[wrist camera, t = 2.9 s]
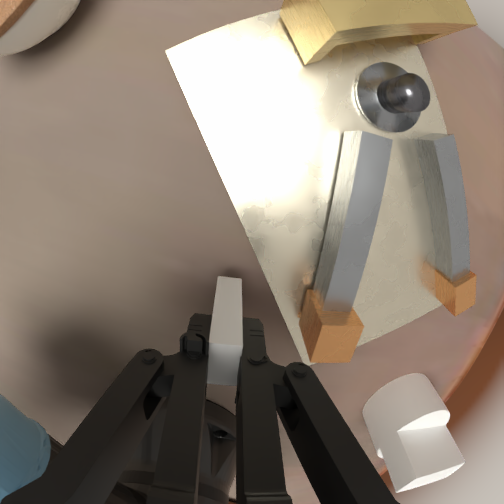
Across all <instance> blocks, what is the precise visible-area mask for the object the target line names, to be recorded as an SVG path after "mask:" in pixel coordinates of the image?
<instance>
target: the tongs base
mask: <svg viewBox="0 0 504 504" xmlns="http://www.w3.org/2000/svg"><path fill="white" fill-rule="evenodd" d="M279 13H280V10H277V11H273V12H269V13H265V14H261V15H258V16H254V17H251V18H248V19H244V20H241V21H238V22H235V23H232V24H229V25H226V26H223V27H220V28H218V29H215V30H212V31H210V32H207V33H205V34H202V35H200V36H197V37H195V38H192V39H190V40H188V41H185V42H183V43H181V44H179V45H177V46H174V47H172V48H170V49H168V50H166V51H165V52H166V54H167V56H168V59H169V61H170V63H171V65H172V67H173V70H174V72H175V74H176V76H177V79H178V81H179V83H180V85H181V88H182V90H183V92H184V94H185V97H186V99H187V101H188V103H189V106H190V108H191V110H192V112H193V115H194V117H195V119H196V121H197V124H198V126H199V128H200V130H201V133H202V135H203V137H204V139H205V142H206V144H207V146H208V148H209V151H210V153H211V155H212V157H213V160H214V162H215V164H216V166H217V169H218V171H219V173H220V175H221V178H222V180H223V182H224V184H225V187H226V189H227V191H228V193H229V196H230V198H231V200H232V202H233V205H234V207H235V209H236V211H237V214H238V216H239V218H240V220H241V223H242V225H243V227H244V229H245V232H246V234H247V236H248V239H249V241H250V243H251V245H252V248H253V250H254V252H255V254H256V257H257V259H258V261H259V263H260V266H261V268H262V270H263V272H264V275H265V277H266V279H267V282H268V284H269V286H270V288H271V291H272V293H273V295H274V297H275V300H276V302H277V304H278V307H279V309H280V311H281V313H282V316H283V318H284V320H285V322H286V325H287V327H288V329H289V332H290V334H291V336H292V338H293V341H294V343H295V345H296V347H297V350H298V352H299V354H300V357H301V359H302V361H303V363H304V364H306V365H308V366H310V365H312V364H315V363H310V360H309V357H308V354H307V350H306V347H305V344H304V340H303V337H302V334H301V330H300V327H299V324H298V323H299V320H300V316H301V312H302V308H303V304H304V300H305V296H306V292H307V289H313V286H314V282H315V278H316V274H317V269H318V265H319V261H320V257H321V252H322V248H323V243H324V239H325V234H326V230H327V225H328V220H329V215H330V210H331V205H332V200H333V195H334V190H335V185H336V179H337V174H338V168H339V162H340V156H341V150H342V144H343V137H344V131H365V132H369V133H372V134H376V135H379V136H382V137H386V138H389V139H392V140H393V142H392V148H391V154H390V160H389V166H388V171H387V177H386V182H385V187H384V192H383V196H382V201H381V206H380V210H379V214H378V219H377V223H376V227H375V231H374V235H373V239H372V243H371V246H370V250H369V254H368V257H367V261H366V264H365V268H364V271H363V275H362V278H361V281H360V285H359V288H358V291H357V294H356V297H355V300H354V303H353V306H352V307H353V309H354V310H355V312H356V313H357V315H358V317H359V318H360V320H361V322H362V323H363V325H364V329H363V331H362V334H361V336H360V339H359V341H358V344H357V346H356V347H358V346H360V345H362V344H365V343H367V342H369V341H371V340H374V339H376V338H378V337H380V336H382V335H384V334H386V333H389V332H391V331H393V330H395V329H397V328H399V327H401V326H403V325H405V324H407V323H409V322H411V321H413V320H415V319H417V318H419V317H421V316H422V315H424V314H426V313H428V312H430V311H432V310H433V309H435V308H437V307H439V306H441V305H442V304H443V305H444V306H445V307H446V308H447V309H448V310H449V311H450V312H451V313H452V314H453V315H454V316H457V315H459V314H460V313H462V312H463V311H465V310H467V309H468V308H470V307H471V306H473V305H474V304H475V295H476V275H475V274H474V273H473V272H471V271H470V253H469V231H468V218H467V208H466V199H465V192H464V185H463V178H462V172H461V166H460V161H459V156H458V151H457V147H456V142H455V138H454V134H447V130H446V126H445V123H444V119H443V115H442V112H441V109H440V105H439V102H438V99H437V96H436V93H435V90H434V87H433V84H432V81H431V79H430V76H429V73H428V71H427V68H426V66H425V63H424V61H423V58H422V56H421V53H420V51H419V49H418V46H417V44H415V43H414V41H413V39H412V37H411V35H404V36H394V37H385V38H377V39H370V40H364V41H358V42H352V43H346V44H341V45H336V46H335V47H334V48H333V49H332V50H331V51H330V52H328V53H327V54H326V55H325V56H324V57H323V58H322V59H321V60H320V61H317V62H313V63H309V64H306V65H305V64H304V62H303V60H302V58H301V56H300V53H299V51H298V49H297V47H296V45H295V43H294V41H293V39H292V37H291V35H290V33H289V31H288V30H287V28H286V26H285V24H284V22H283V20H282V18H281V17H280V15H279Z"/></svg>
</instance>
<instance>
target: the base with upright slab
mask: <svg viewBox="0 0 504 504" xmlns="http://www.w3.org/2000/svg"><path fill="white" fill-rule="evenodd" d="M362 412H363V418H364V420H365V423H366V425H367V428H368V431H369V433H370V436H371V439H372V441H373V444H374V447H375V449H376V452H377V455H378V456H379V457H380V458H384V461H385V463H386V466H387V469H388V472H389V474H390V477H391V480H392V483H393V485H394V488H395V491H396V493H397V492H401V491H405V490H408V489H412V488H416V487H419V486H422V485H425V484H428V483H431V482H434V481H437V480H440V479H443V478H445V477H448V476H449V475H450V474H452V473H453V472H455V471H456V470H457V469H458V468H460V467H461V466H462V465H463V464H464V463H465V460H464V458H463V456H462V454H461V453H460V451H459V449H458V447H457V445H456V443H455V442H454V439H453V438H452V436H451V434H450V432H449V430H448V429H447V427H446V424H447V422H448V420H449V418H450V413H449V411H448V410H447V408H446V406H445V404H444V403H443V401H442V400H441V398H440V396H439V395H438V393H437V392H436V390H435V388H434V387H433V385H432V384H431V382H430V381H429V379H428V378H427V377H426V376H425V375H424V374H420V373H413V374H408V375H404V376H401V377H399V378H397V379H395V380H393V381H391V382H389V383H388V384H386V385H384V386H383V387H382V388H380V389H379V390H378V391H376V392H375V393H374V394H373V395H372V396H371V397H370V398H369V399H368V401H367V402H366V404H365V405H364V408H363V411H362Z"/></svg>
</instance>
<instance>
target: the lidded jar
mask: <svg viewBox="0 0 504 504" xmlns="http://www.w3.org/2000/svg"><path fill="white" fill-rule="evenodd" d="M80 1H81V0H0V56H6V55H11V54H15V53H19V52H22V51H24V50H27V49H29V48H31V47H33V46H34V45H36V44H38V43H40V42H41V41H43V40H44V39H46V38H47V37H48V36H50V35H52V34H53V33H55V32H56V31H57V30H59V29H60V28H61V27H62V26H63V25H64V24H65V23H66V22H67V21H68V20H69V19H70V17H71V16H72V15H73V13H74V12H75V10H76V9H77V7H78V5H79V3H80Z"/></svg>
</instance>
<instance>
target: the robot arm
mask: <svg viewBox="0 0 504 504" xmlns="http://www.w3.org/2000/svg"><path fill="white" fill-rule="evenodd" d="M207 383H208V384H218V385H229V386H237V391H236V397H235V403H236V417H235V416H234V415H232V414H231V413H230V412H228V411H227V410H225V409H224V408H222V407H220V406H218V405H216V404H214V403H211V402H209V401H206V388H207ZM276 410H277V412H276ZM277 413H278V415H279V417H280V419H281V421H282V424H283V426H284V428H285V430H286V432H287V435H288V437H289V439H290V441H291V443H292V445H293V448H294V450H295V452H296V454H297V456H298V458H299V460H300V462H301V464H302V467H303V469H304V471H305V473H306V475H307V477H308V479H309V481H310V483H311V485H312V487H313V489H314V491H315V493H316V495H317V497H318V499H319V501H320V503H321V504H400V503H398V502H397V501H396V500H395V499H394V497H393V495H392V494H391V493H390V491H389V489H388V488H387V486H386V485H385V483H384V482H383V480H382V479H381V477H380V475H379V474H378V472H377V471H376V469H375V468H374V466H373V464H372V463H371V461H370V460H369V458H368V457H367V455H366V454H365V452H364V450H363V449H362V447H361V446H360V444H359V443H358V441H357V439H356V438H355V436H354V435H353V433H352V432H351V430H350V428H349V427H348V425H347V424H346V422H345V421H344V419H343V417H342V416H341V414H340V413H339V411H338V410H337V408H336V406H335V405H334V403H333V402H332V400H331V398H330V397H329V395H328V394H327V392H326V390H325V389H324V387H323V386H322V384H321V383H320V381H319V379H318V378H317V376H316V375H315V373H314V371H313V370H312V369H311V368H310V366H308V365H306V364H304V363H301V362H293V363H290V364H289V365H288V366H287V367H284V366H280V365H277V364H275V363H273V362H272V361H270V359H269V357H268V356H267V354H266V347H265V338H264V330H263V324H262V323H261V322H260V320H259V319H252V318H242V279H241V278H231V277H222V276H218V280H217V287H216V294H215V301H214V308H213V315H206V314H198V313H195V314H194V315H193V316H192V317H191V318H190V321H189V325H188V330H187V333H184V334H183V335H182V336H181V337H180V352H178V353H177V354H174V355H169V356H163V355H162V354H161V353H160V352H159V351H157V350H154V349H144V350H141V351H139V352H138V353H137V354H136V355H135V356H134V357H133V359H132V360H131V361H130V362H129V364H128V365H127V366H126V367H125V369H124V370H123V371H122V372H121V374H120V375H119V376H118V377H117V378H116V380H115V381H114V382H113V383H112V385H111V386H110V387H109V388H108V390H107V391H106V392H105V394H104V395H103V396H102V397H101V399H100V400H99V401H98V402H97V404H96V405H95V406H94V407H93V409H92V410H91V411H90V413H89V414H88V415H87V416H86V418H85V419H84V420H83V422H82V423H81V424H80V425H79V427H78V428H77V429H76V431H75V432H74V433H73V434H72V436H71V437H70V438H69V440H68V441H67V442H66V444H65V445H64V446H63V445H61V444H60V443H59V442H57V441H56V440H55V439H54V438H52V437H51V436H50V435H49V434H47V433H46V431H45V429H44V428H43V427H42V426H41V425H40V424H39V423H37V422H36V421H34V420H33V419H30V418H28V417H26V416H25V415H24V414H23V413H22V412H20V411H19V410H18V409H17V408H16V407H15V406H14V405H12V404H11V403H10V402H9V401H8V400H7V399H6V398H5V397H4V396H2V395H1V394H0V504H229V490H230V487H231V485H232V482H233V480H234V477H235V475H236V504H293V503H292V499H291V497H290V496H289V495H288V494H287V491H286V485H285V477H284V468H283V460H282V452H281V444H280V436H279V428H278V420H277Z"/></svg>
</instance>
